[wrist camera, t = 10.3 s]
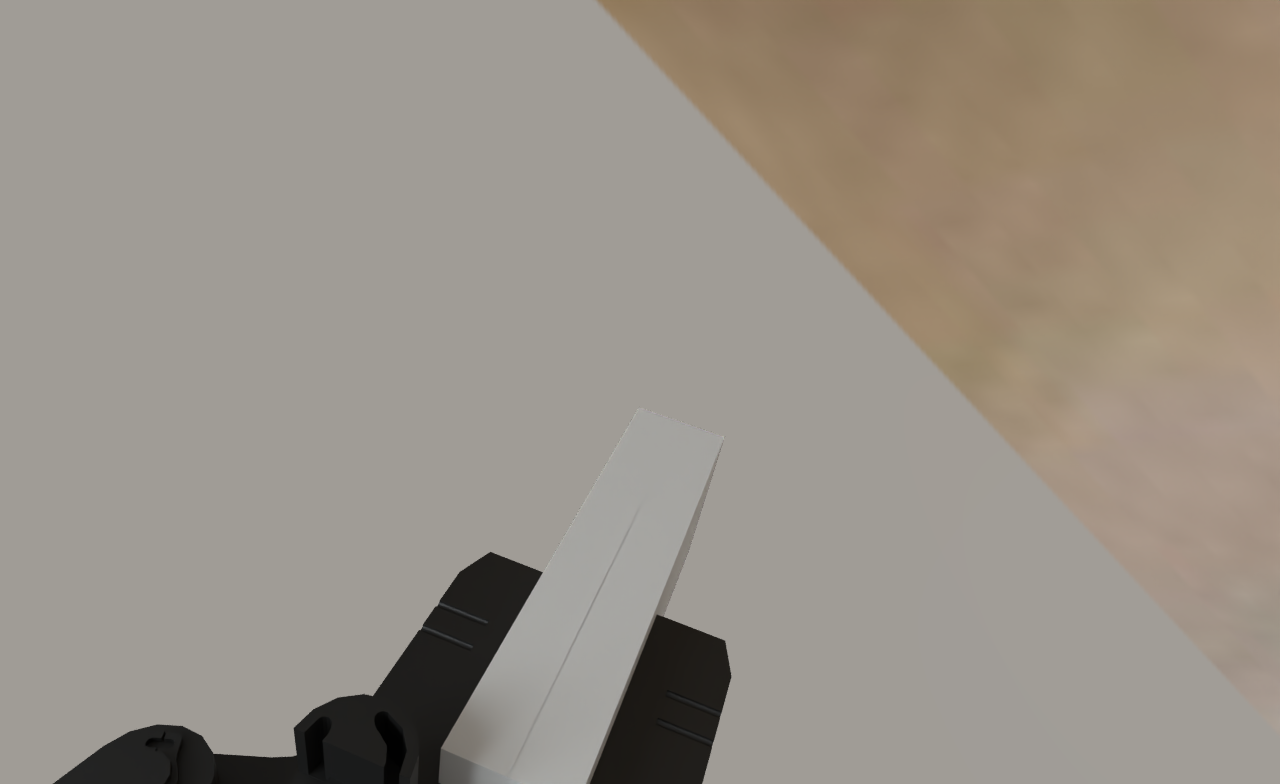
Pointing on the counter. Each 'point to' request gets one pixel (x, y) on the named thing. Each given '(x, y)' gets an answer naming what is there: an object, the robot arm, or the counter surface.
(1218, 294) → the counter surface
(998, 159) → the counter surface
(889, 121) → the counter surface
